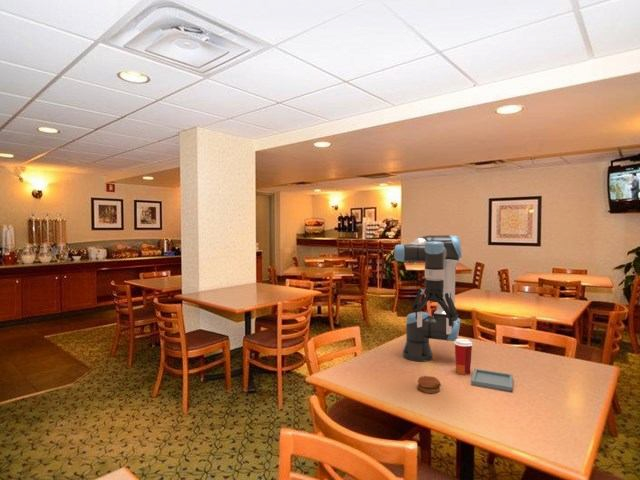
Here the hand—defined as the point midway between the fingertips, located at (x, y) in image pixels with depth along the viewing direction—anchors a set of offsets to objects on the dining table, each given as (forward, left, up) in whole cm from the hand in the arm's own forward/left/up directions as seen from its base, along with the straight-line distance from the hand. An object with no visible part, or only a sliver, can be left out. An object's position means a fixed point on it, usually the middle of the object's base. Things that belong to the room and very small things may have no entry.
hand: (433, 330), depth 157 cm
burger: (-2, -2, -26) cm, 26 cm away
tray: (-22, +21, -26) cm, 40 cm away
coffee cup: (-28, +8, -26) cm, 39 cm away
